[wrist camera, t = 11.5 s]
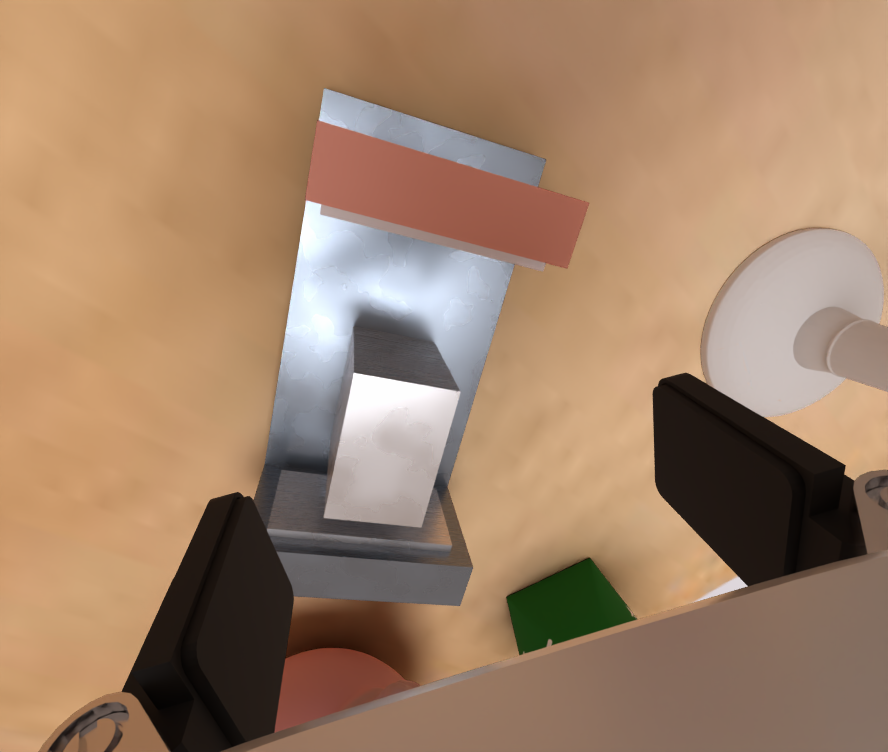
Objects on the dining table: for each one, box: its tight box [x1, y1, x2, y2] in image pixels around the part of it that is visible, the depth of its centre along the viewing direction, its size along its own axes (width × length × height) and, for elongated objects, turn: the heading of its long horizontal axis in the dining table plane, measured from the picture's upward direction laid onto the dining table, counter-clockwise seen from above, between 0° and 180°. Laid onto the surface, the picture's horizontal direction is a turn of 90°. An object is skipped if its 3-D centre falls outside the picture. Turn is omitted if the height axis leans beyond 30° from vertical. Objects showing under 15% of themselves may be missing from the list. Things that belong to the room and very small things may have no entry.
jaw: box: [305, 120, 589, 271], centre depth 20 cm, size 10×3×7 cm, turn 75°
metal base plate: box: [253, 88, 546, 606], centre depth 24 cm, size 11×22×8 cm, turn 165°
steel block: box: [324, 326, 461, 527], centre depth 24 cm, size 4×7×7 cm, turn 166°
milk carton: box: [506, 558, 637, 655], centre depth 29 cm, size 9×9×20 cm
